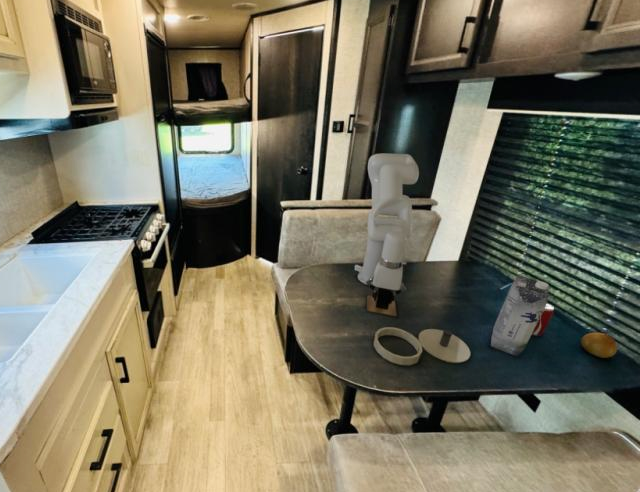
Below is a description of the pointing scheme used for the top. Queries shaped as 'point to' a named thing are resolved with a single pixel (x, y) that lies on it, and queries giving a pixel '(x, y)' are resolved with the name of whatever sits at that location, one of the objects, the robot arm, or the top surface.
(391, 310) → the trivet
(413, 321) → the top surface
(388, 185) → the robot arm
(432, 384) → the top surface
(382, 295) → the block
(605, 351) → the fruit
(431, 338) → the lid
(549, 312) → the soda can
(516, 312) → the juice carton
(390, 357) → the cream hollow ring
